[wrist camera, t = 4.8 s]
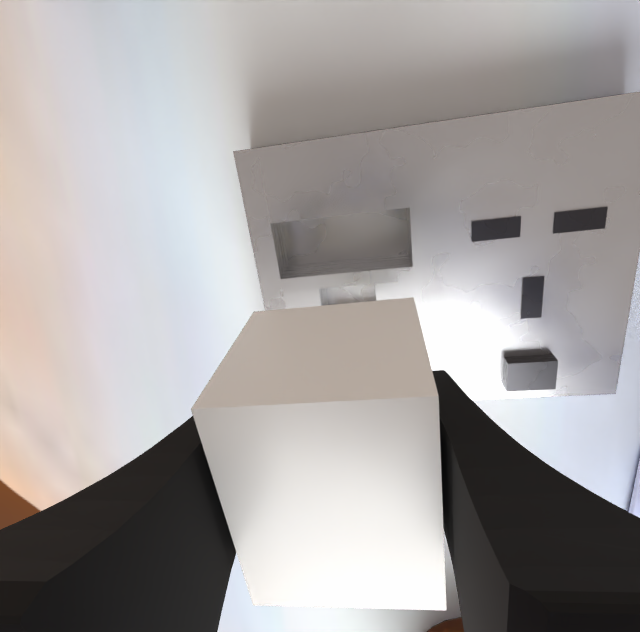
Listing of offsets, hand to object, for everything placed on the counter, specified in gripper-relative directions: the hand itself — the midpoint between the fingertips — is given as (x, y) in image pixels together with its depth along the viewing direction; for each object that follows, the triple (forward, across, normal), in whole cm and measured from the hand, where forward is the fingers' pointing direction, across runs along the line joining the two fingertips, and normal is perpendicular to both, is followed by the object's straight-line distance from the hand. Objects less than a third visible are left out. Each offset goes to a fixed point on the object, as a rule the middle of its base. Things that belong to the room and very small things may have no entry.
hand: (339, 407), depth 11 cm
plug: (+3, 0, 0) cm, 3 cm away
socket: (+10, -4, -1) cm, 11 cm away
